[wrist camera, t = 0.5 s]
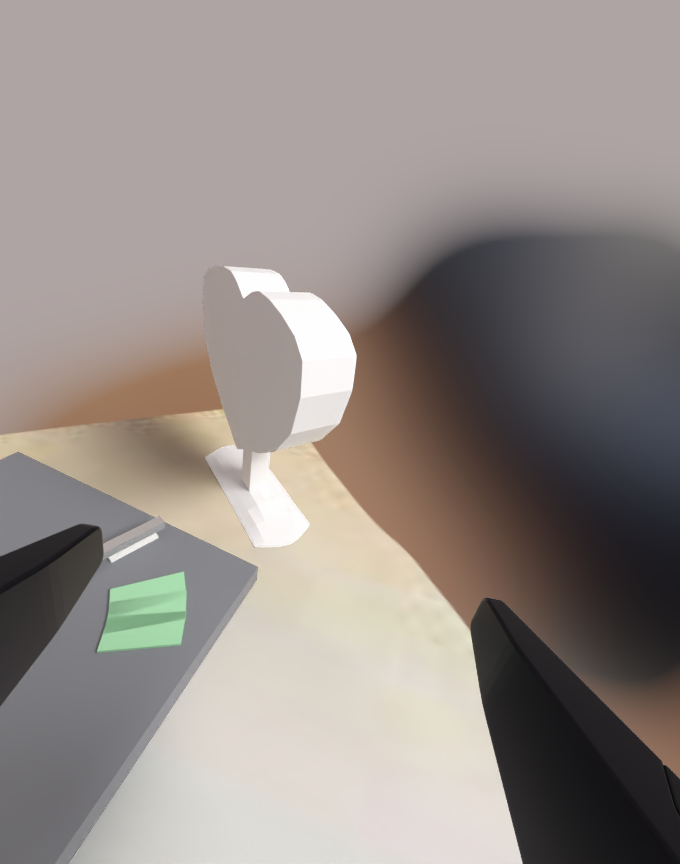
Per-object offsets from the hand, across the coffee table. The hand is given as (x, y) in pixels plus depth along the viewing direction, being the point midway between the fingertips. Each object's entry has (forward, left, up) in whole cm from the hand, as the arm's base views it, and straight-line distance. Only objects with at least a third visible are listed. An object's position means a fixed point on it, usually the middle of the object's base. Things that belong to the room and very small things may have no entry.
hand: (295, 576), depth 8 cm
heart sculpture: (+16, +10, -16) cm, 25 cm away
